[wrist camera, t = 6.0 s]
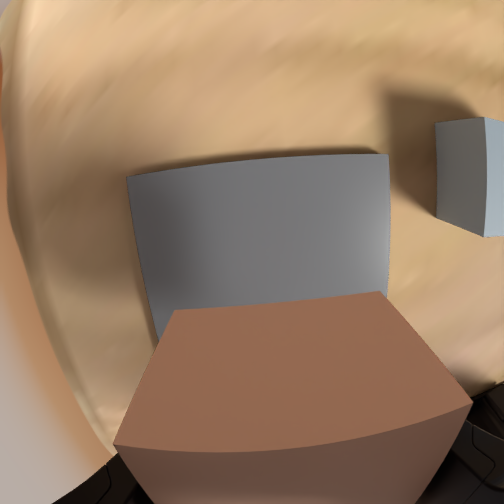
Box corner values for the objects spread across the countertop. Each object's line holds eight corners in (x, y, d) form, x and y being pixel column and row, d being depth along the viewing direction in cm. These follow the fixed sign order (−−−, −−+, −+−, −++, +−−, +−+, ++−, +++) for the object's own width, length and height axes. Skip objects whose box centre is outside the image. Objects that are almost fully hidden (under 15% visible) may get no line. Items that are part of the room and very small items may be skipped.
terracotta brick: (361, 425, 10) (395, 528, 5) (209, 440, 10) (195, 549, 5) (379, 290, 8) (473, 402, 4) (174, 309, 9) (112, 444, 4)
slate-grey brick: (495, 216, 17) (541, 233, 12) (435, 217, 17) (483, 237, 12) (495, 133, 15) (544, 134, 10) (433, 123, 15) (484, 116, 10)
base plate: (373, 362, 20) (377, 371, 19) (176, 381, 20) (173, 389, 19) (381, 154, 16) (388, 154, 15) (133, 175, 16) (126, 176, 15)
